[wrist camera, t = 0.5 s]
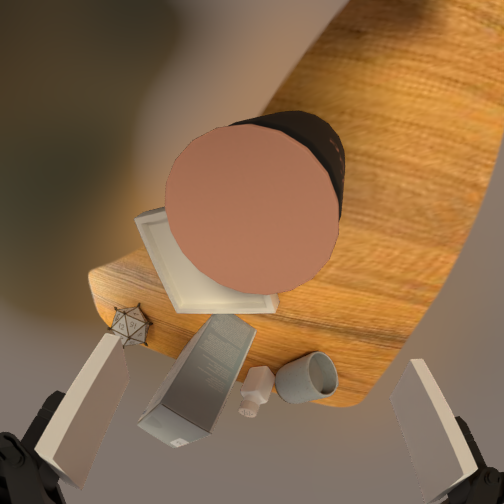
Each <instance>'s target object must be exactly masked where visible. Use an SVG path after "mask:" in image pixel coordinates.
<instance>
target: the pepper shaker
mask: <svg viewBox="0 0 504 504" xmlns="http://www.w3.org/2000/svg"><path fill="white" fill-rule="evenodd" d="M274 381H275V376H274V374H273V373H272V372H271V370H270V369H269V367H267V366H258V367H251V368H250V369H249V371H248V374H247V376H246V378H245V381H244V383H243V385H242V388H241V390H240V393H241V395H242V396H243V398H244V399H243V400H242V402H241V405H240V407H239V409H238V411H239V413H240V414H242V415H243V416H246V417H250V418H252V417H255V416H256V415H257V412H258V410H259V406H260V404H263V403H266V402H267V401H268V399H269V396H270V393H271V390H272V387H273V384H274Z"/></svg>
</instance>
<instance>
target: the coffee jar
mask: <svg viewBox="0 0 504 504" xmlns="http://www.w3.org/2000/svg"><path fill="white" fill-rule="evenodd" d="M344 175H345V153H344V149H343V146H342V143H341V141H340V138H339V136H338V135H337V134H336V132H335V131H334V130H333V129H332V127H331V126H330V125H329V124H328V123H327V122H325V121H324V120H322V119H320V118H319V117H317V116H316V115H313V114H310V113H306V112H302V111H285V112H279V113H274V114H269V115H265V116H260V117H256V118H252V119H247V120H243V121H239V122H235V123H233V124H231V125H229V126H226V127H218V128H215V129H213V130H212V131H210V132H208V133H206V134H204V135H202V136H200V137H198V138H196V139H194V140H193V141H192V142H191V143H190V144H189V145H188V146H187V147H186V148H185V150H184V151H183V152H182V153H181V154H180V155H179V156H178V157H177V159H176V160H175V162H174V164H173V167H172V169H171V172H170V174H169V177H168V180H167V182H166V195H165V210H166V214H167V219H168V223H169V227H170V231H171V233H172V235H173V236H174V238H175V240H176V242H177V244H178V246H179V247H180V249H181V251H182V253H183V254H184V255H185V256H186V257H187V258H188V259H189V260H190V261H191V262H192V264H193V265H194V266H195V267H196V268H197V269H198V270H199V271H200V272H202V273H203V274H205V275H206V276H208V277H209V278H211V279H212V280H214V281H215V282H217V283H218V284H220V285H223V286H225V287H228V288H231V289H234V290H236V291H239V292H242V293H250V294H261V295H270V294H275V293H281V292H286V291H291V290H293V289H295V288H296V287H298V286H300V285H302V284H304V283H305V282H307V281H309V280H311V279H312V278H313V277H314V276H315V275H316V274H317V273H318V272H319V271H320V269H321V268H322V267H323V266H324V265H325V264H326V263H327V261H328V260H329V259H330V256H331V254H332V251H333V248H334V246H335V243H336V240H337V238H338V235H339V220H340V217H341V211H342V200H343V188H344Z"/></svg>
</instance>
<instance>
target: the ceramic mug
mask: <svg viewBox="0 0 504 504" xmlns="http://www.w3.org/2000/svg"><path fill="white" fill-rule="evenodd" d="M338 384H339V383H338V375H337V371H336V368H335V366H334V363H333V362H332V360H331V359H330V358H329V357H328V356H327V355H326V354H325V353H323V352H319V351H317V352H313V353H311V354H309V355H306V356H304V357H302V358H300V359H297V360H295V361H293V362H290V363H288V364H286V365H284V366H283V367H281V368H280V369H279V370H278V372H277V373H276V376H275V388H276V391H277V393H278V395H279V396H280V397H281V399H283V400H284V401H285V402H288V403H303V402H307V401H311V400H316V399H321V398H325V397H329V396H331V395H332V394H333V393H334V392H335V390H336V388H337V386H338Z"/></svg>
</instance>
